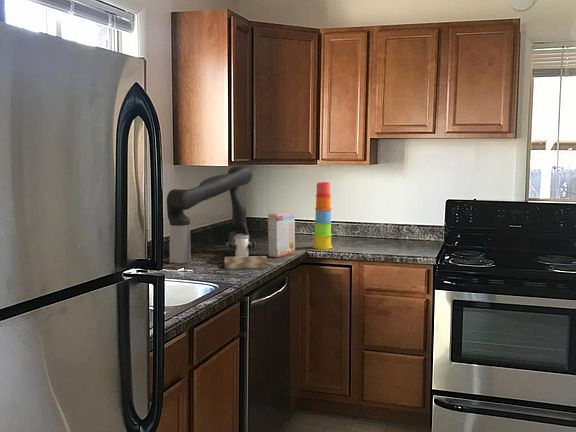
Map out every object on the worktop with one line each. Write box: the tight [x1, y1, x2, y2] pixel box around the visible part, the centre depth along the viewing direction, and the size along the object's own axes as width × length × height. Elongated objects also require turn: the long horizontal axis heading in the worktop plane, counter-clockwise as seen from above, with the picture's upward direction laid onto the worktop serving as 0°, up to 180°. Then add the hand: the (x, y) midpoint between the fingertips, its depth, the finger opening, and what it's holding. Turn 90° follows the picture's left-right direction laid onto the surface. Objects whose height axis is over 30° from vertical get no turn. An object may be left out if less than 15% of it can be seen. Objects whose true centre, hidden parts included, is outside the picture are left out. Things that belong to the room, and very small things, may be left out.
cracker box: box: [267, 211, 296, 258], centre depth 302 cm, size 14×6×21 cm, turn 141°
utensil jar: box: [234, 235, 249, 257], centre depth 284 cm, size 6×6×12 cm
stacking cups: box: [312, 181, 333, 250], centre depth 326 cm, size 10×10×35 cm
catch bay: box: [224, 255, 268, 270], centre depth 273 cm, size 18×11×5 cm, turn 97°
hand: (242, 247), depth 282 cm, fingers closed on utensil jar, 6 cm apart
